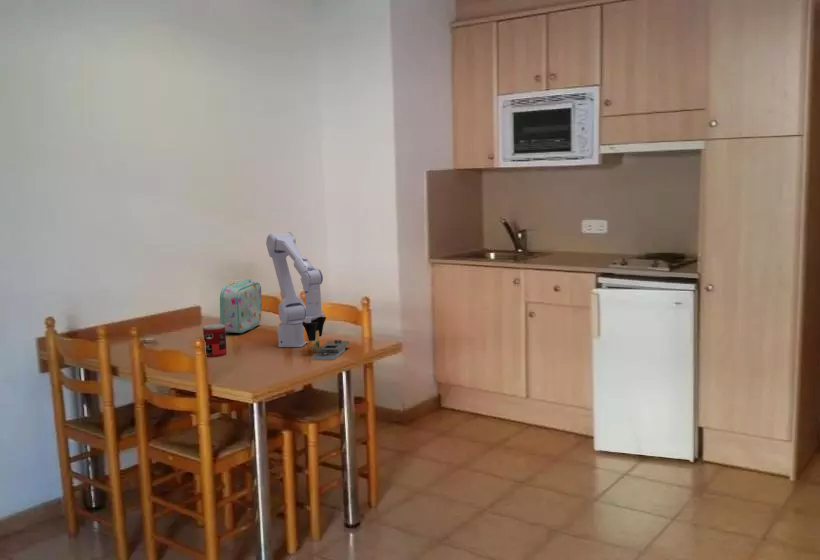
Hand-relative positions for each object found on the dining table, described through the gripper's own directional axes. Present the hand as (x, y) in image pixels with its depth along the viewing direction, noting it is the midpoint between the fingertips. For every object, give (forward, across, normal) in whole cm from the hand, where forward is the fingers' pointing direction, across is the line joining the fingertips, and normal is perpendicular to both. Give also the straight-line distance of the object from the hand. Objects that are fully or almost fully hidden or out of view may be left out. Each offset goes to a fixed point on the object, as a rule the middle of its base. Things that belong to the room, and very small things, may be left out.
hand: (315, 338), depth 302 cm
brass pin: (+5, 0, 0) cm, 5 cm away
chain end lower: (+5, -6, -7) cm, 10 cm away
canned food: (+5, -7, +37) cm, 38 cm away
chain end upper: (+4, 0, -7) cm, 8 cm away
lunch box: (+5, +40, +47) cm, 62 cm away
